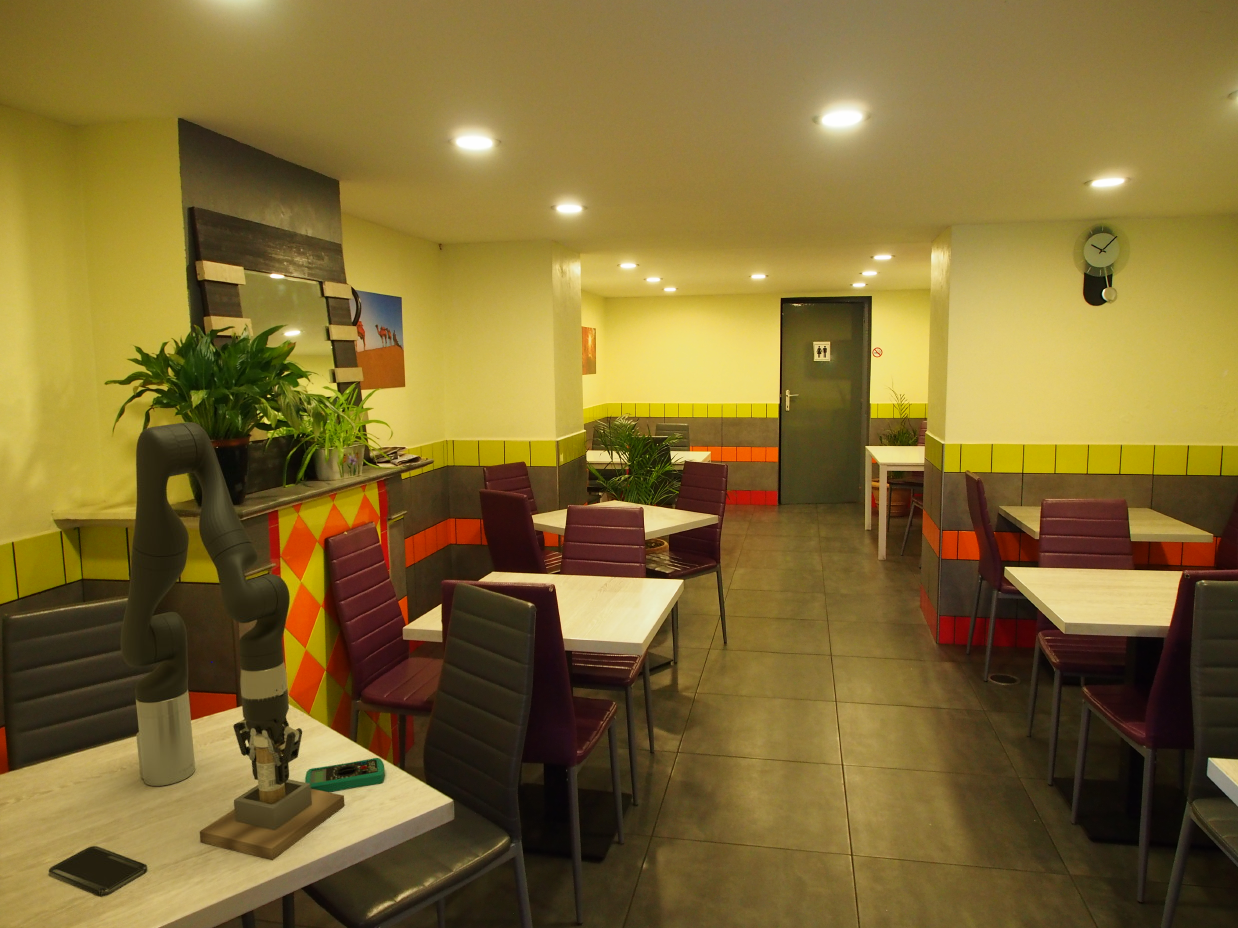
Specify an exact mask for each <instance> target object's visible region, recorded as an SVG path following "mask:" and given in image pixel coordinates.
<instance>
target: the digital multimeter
mask: <svg viewBox="0 0 1238 928" xmlns="http://www.w3.org/2000/svg"><path fill="white" fill-rule="evenodd" d="M385 772H386V771H385V763H384V761H383V760H382V759H381V758H379V757H373V758H368V759H362V760H357V761H352V762H346V763H340V764H334V765H328V766H327V765H326V766H320V767H312V768H308V769H307V771H306V773H305V777H304V778H305V779H304V781H305V782H304V783H309V784H311V789H315V790H320V791H325V792H330V793H333V792H337V791H343V790H349V789H354V788H361V787H367V786H373V785H379V784H383V783H384V780H385V776H386V775H385Z"/></svg>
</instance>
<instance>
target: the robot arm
mask: <svg viewBox="0 0 1238 928" xmlns="http://www.w3.org/2000/svg"><path fill="white" fill-rule="evenodd" d="M213 445H214V444H213V443H212V441H211V439H210V437H209V435H208V433H207V431H206V430H205V429H204V428H203V427H202V426H201V425H200V424H198V423H197V422H193V421H191V422H177V423H170V424H163V425H157V426H156V425H155V426H150V427H146V428H144V429H143V430H142V431H141V432H140V434H139V436H138V439H137V443H136V448H135V449H136V450H135V451H136V452H135V467H136V468H135V471H136V473H135V474H136V475H135V477H136V508H135V519H134V521H135V523H134V528H133V537H132V544H131V545H132V546H131V555H130V556H131V557H130V576H129V578H130V579H129V587H128V588H129V589H128V596H127V602H126V606H125V611H124V615H123V619H122V621H123V622H122V626H121V632H120V642H119V643H120V652H121V656H122V659H123V661H124V663H126V665H128V666H129V667H131V668H140V667H146V666H151V665H154V664H158V663H159V664H158V666H157V667H156V668H155V669H154V670H153V671H152V672H150V673H149V674H147V675H146V676H145V677H143V678H141V679H140V680H139V681H138V682H137V683H136V684H135V688H134V693H135V704H136V706H135V707H136V713H137V722H138V723H137V724H138V732H137V733H136V736H135V737H136V745H137V754H138V755H137V756H138V758H137V759H138V765H139V774H140V776H139V777H140V779H142V780H143V782H144V783H145V784H146V785H148V786H155V787H159V786H160V787H161V786H162V787H163V786H167V785H173V784H175V783H176V784H177V783H179V782H181V781H184V780H186V779H187V778H189V777H190V776H192V775H193V774H194V773H195V770H196V762H195V750H194V740H193V739H194V738H193V727H192V719H191V718H192V717H191V706H190V695H189V685H188V680H189V662H188V661H189V659H188V654H189V653H188V634H187V627H186V624H185V622H184V620H183V618H182V616H181V615H179V613H177V612H175V611H167V612H165V613H159V614H155V615H154V613H155V610H156V608H157V607H158V605H159V603H160V602H161V601H162V599H163V598H164V597H165V596H166V595H167V593H168V592H169V591H170V590H171V588H173V586H174V584H175V583H176V582H177V581H178V580H179V578H180V577H181V575H182V573H183V572H184V570H185V567H186V565H187V559H188V551H189V543H190V541H189V540H190V538H189V537H190V536H189V532H188V529H187V526H186V525H185V524H184V522H183V520H182V519H181V517H180V516H179V515H178V514H177V512H176V511H175V510H174V509H173V507H172V506H171V504H170V502H169V499H168V492H167V490H168V489H167V488H168V483H169V479H170V477H174V476H175V477H176V476H181V475H187V474H191V473H193V475H194V476H195V477H196V479H197V481H198V483H199V485H200V489H201V498H202V499H201V508H200V514H199V521H198V522H199V523H198V530H199V536H200V539H201V542H202V544H203V546H204V548H205V550H206V552H207V554H208V556H209V558H210V559H211V561H212V563H213V565H214V567H215V569H216V573H217V579H218V582H219V587H220V593H221V599H222V604H223V607H224V610H225V613H227V615H228V616H229V617H230V619H232V620H233V621H235V622H237V623H240V624H248V623H251V622H254V621H256V622H255V625H254V626H253V627H252V628H251V629H249V630H248V631H246V632H245V633H244V634H243V635H241V637H240V638H239V641H238V642H239V643H238V649H239V650H238V653H239V663H240V678H239V679H240V680H239V683H240V694H241V695H240V696H241V705H242V707H241V709H242V717H243V719H242V720H240V721H238V722H236V723H234V724H233V725H232V727H233V730H234V733H235V738H236V740H237V743H238V746H239V750H240V754H241V755H242V756H244V757H245V756H247V757H248V759H249V760H250V761H251V769H252V776H253V779H254V780H256V781H258V776H257V764H256V760H257V759H256V748H255V745H254V738H253V737H254V736H256V735H258V734H262V735H263V738H264V739H267V742H268V750H269V753H270V754H272V755H273V758H274V761H275V764H276V765H275V776H276V784H278V785H282V784H283V783H285V782H286V781H287V780H288V779H290V768H289V766H290V765H289V763H291V762H292V761H293V760H296V759H298V757H299V754H300V753H299V752H300V746H301V742H302V736H303V730H302V728H300V727H299V728H298V727H297V728H296V729H294V728H292V727H290V724H289V722H288V720H287V714H288V712H289V709H290V704H289V703H290V702H289V691H288V690H289V689H288V680H287V679H288V677H287V669H286V665H285V658H284V646H283V645H284V644H283V638H284V633H285V630H286V629H285V628H286V623H287V618H288V613H289V609H290V602H291V601H290V598H291V597H290V590H289V587H288V585H287V583H286V582H285V580H284V579H283V578H282V577H281V576H279V575H277V574H266V575H264V574H263V575H262V576H258V577H255V578H251V579H247V578H246V575H245V571H247V570H249V569H250V568H252V567H253V566H254V565H255V564H256V563H257V562H258V559H259V558H258V557H259V555H258V552H257V549H256V547H255V546H254V544H253V542H252V540H251V538H250V537H249V535H248V533H247V531H246V528H245V527H244V525H243V523H242V521H241V519H240V516H238V515H239V514H238V513H237V512H236V511H237V510H236V508H235V505H234V504H233V500H232V498H231V494H230V492H229V488H228V486H227V483H226V479H225V477H224V474H223V471H222V470H223V469H222V467H221V465H220V463H219V459H218V457H217V453H216V451H215V448H214V446H213ZM246 741H247V743H246ZM279 742H281V744H280V745H279V746H277V747H275V745H276V744H278V743H279ZM247 744H248V746H247ZM280 750H281V752H282V756H280V753H279V752H280Z"/></svg>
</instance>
